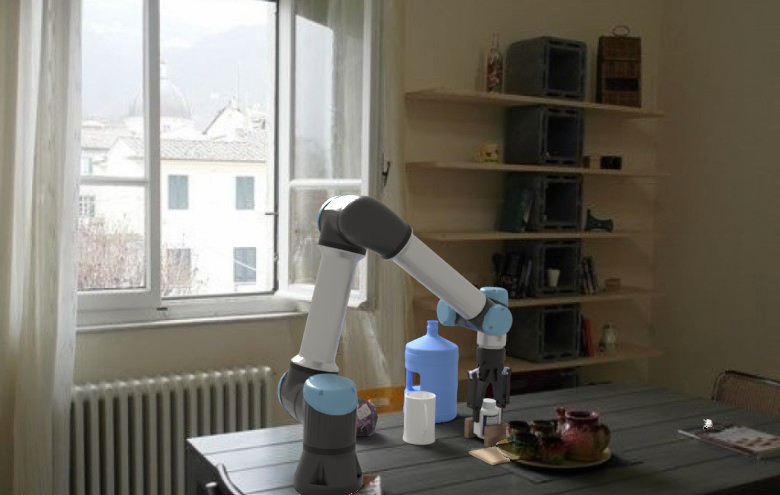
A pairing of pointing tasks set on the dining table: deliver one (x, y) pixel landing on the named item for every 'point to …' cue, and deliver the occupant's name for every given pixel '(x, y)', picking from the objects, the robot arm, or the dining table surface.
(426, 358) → the water jug
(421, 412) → the mug
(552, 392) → the dining table surface
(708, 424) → the power adapter
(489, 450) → the cork pad
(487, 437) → the blocks
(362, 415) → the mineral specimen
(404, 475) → the dining table surface
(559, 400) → the dining table surface
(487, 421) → the pill bottle
